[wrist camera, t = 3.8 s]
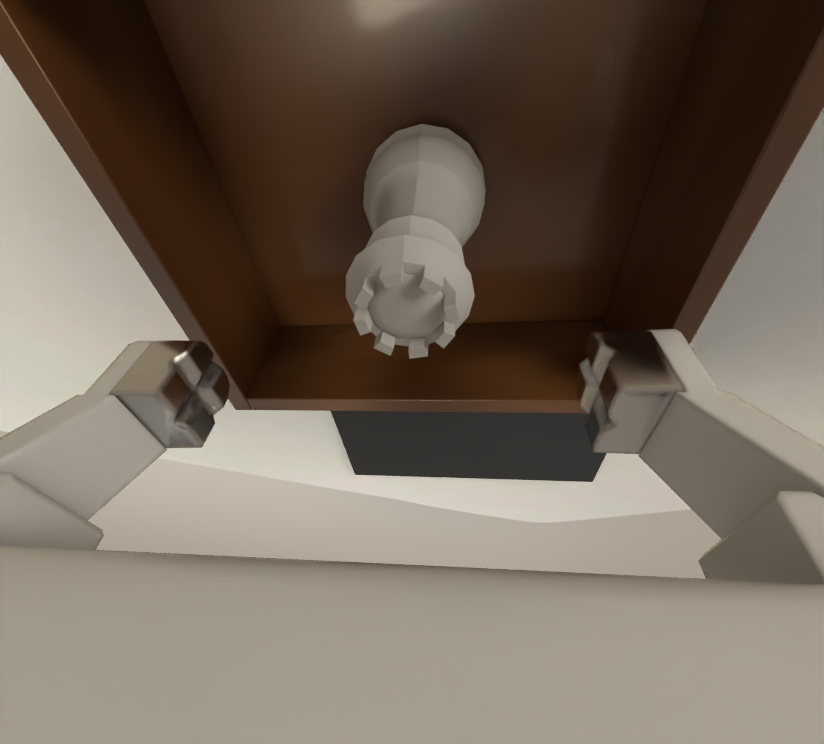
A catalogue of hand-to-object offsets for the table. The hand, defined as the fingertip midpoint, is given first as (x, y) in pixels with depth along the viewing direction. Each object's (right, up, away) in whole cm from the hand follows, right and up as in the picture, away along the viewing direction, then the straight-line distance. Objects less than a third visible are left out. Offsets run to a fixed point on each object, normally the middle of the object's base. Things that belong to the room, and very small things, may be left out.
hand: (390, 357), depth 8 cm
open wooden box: (+1, +7, +6) cm, 10 cm away
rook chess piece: (+1, +7, +6) cm, 9 cm away
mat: (+4, -4, +17) cm, 18 cm away
